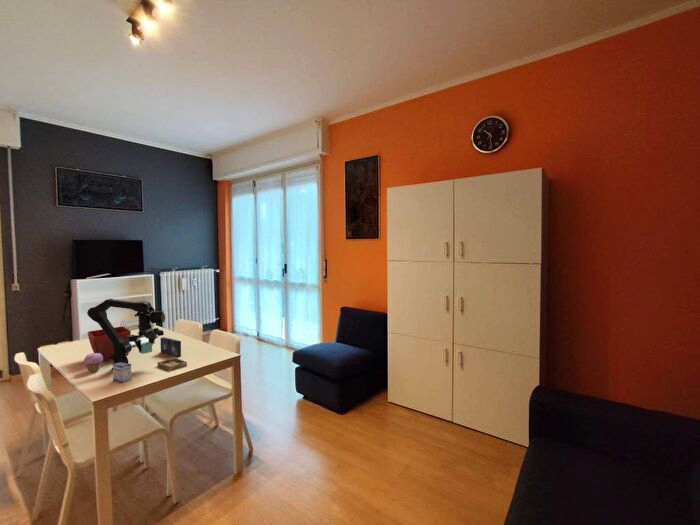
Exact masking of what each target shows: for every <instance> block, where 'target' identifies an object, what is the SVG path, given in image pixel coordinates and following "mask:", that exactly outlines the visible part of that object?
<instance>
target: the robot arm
mask: <svg viewBox="0 0 700 525" xmlns="http://www.w3.org/2000/svg"><path fill="white" fill-rule="evenodd" d="M111 307H112V308H120V309H127V310H132V311H134V312H137V313H135V314H134V317H138V318H139V319H138V320H139V322H138V323H139V325H137V328H138V332H137V334H136V335H135V334H130V335H128V336H126V337H125V340H123V339H122V338H121V337H120V336H119V334H118V333H117V331H116V330H115V329H114V328H115V327H114V326H113V324H112V323H111V322H110V320H109V319H108V313H107V310H109V309H110V308H111ZM86 313H87V316H88V317H89V318H90V319H91V320H92V321H94V322H95V323H98V325H99V327H100V328H101V330H102V329H103V331H104V332H105V334H106V335H107V336H108V338H109V339H110V341H111V342H112V343H113V350H114V352H115V353H114V354H113V355H112V356H111V357H110V358H111V360H110V361H112V365H113V364H116V363H119V362H123V363H128V364H129V358H128V355H129V354H130V353H131V352H132V349H133V347H131V344H130V343H129V342H135V344H136V345H137V346H136V347H137V349H138V352H139V351H140V352H141V341H142V340H140V338H143V337H146V338H147V339H149V342H150V343H152V346H153V345H154V343H153V342H154V341H156V339H157V338H159V337H161V336H164V335H165V332H164V330H162V329H160V328H159V327H153V328H152V324H163V323H165V322H166V315H165V313H164V310H160V311H159V310H158V311H156V309H155V308H154V307H153V306H152V304H151V302H150V301H149V300H148V301H147V300H142V301H141V300H140V301H130V300H122V299H115V298H108V299H105V300H104V301H103V302H101V303H99V304H97V305H95V306H94V307H90V308H89V309H88V310H87V312H86ZM150 323H152V324H150ZM111 370H113V367H111Z"/></svg>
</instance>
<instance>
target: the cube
mask: <svg viewBox="0 0 700 525" xmlns="http://www.w3.org/2000/svg"><path fill="white" fill-rule="evenodd" d="M151 352H152V353H153V345H152V343H150V342H145V343H141V352H140V351H139V350H138V353H139V354H142V355H144V354H147V353H148V354H149V353H151Z"/></svg>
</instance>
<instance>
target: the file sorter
mask: <svg viewBox="0 0 700 525" xmlns="http://www.w3.org/2000/svg"><path fill="white" fill-rule="evenodd" d="M120 325H122V326H123V327H125V328H127V329H128V330H130V329H129V328H130V327H134V326H138V325H139V317H138V318H134V319H133V318H131V319H125V320H122V321H121V322H120ZM150 325H152V329H154V323H152V322H150ZM140 340H142V341H141V343H145V342H149V339H147V338H146V337H143V338H140ZM129 343H130V344H131V347H132V348H134V347H133V346H135V347H137V345H136V344H135V342H129ZM155 343H156V340H154V342H153V344H155Z"/></svg>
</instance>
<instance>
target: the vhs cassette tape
mask: <svg viewBox="0 0 700 525" xmlns="http://www.w3.org/2000/svg"><path fill="white" fill-rule="evenodd" d="M160 353H161V354H164V355H168V356H171V357H172V356H173V357H174V358H179V357H182V341H181V340H178V339H173V338H170V337H164V336H163V337H160Z"/></svg>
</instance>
